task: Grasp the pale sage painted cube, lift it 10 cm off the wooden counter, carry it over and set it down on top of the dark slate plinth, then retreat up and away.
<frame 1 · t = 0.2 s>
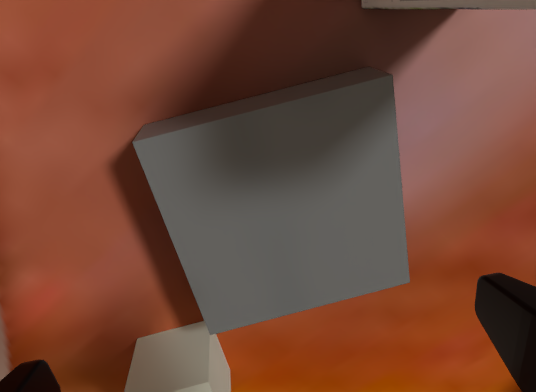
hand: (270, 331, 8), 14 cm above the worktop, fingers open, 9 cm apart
plinth: (280, 197, 23), on the worktop
cube: (185, 353, 27), on the worktop
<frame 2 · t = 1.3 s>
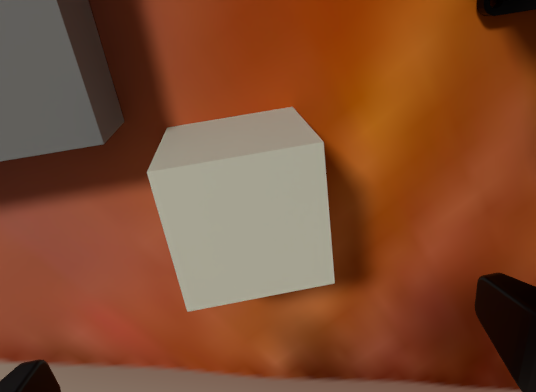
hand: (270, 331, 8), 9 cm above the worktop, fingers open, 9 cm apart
cube: (240, 174, 16), on the worktop
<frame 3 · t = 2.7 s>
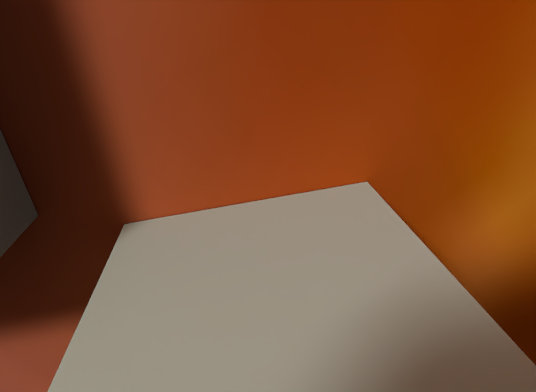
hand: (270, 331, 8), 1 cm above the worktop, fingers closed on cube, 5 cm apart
cube: (264, 298, 9), on the worktop, touching gripper
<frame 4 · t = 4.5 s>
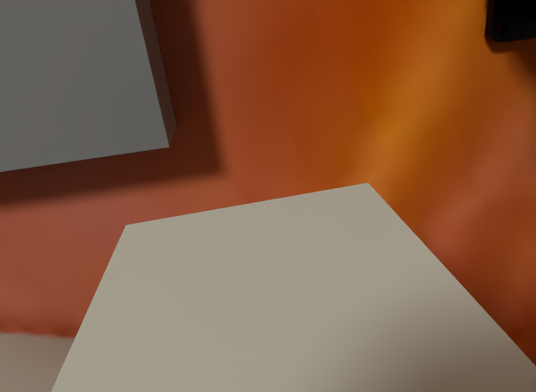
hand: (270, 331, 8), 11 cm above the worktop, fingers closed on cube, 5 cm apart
cube: (265, 299, 9), point 10 cm above the worktop, touching gripper
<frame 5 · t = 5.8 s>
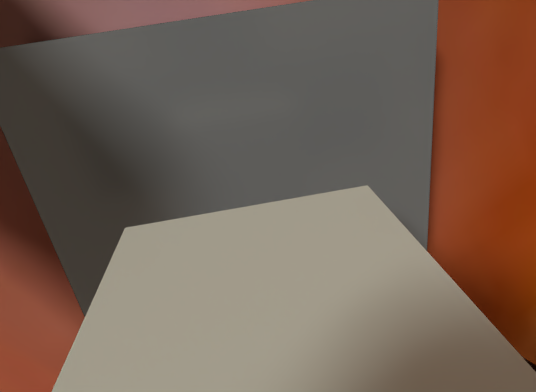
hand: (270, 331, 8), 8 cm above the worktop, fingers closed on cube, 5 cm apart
plinth: (242, 185, 15), on the worktop
cube: (265, 301, 9), point 7 cm above the worktop, touching gripper
when the fingers open (5 cm above the worktop, at t = 6.7 s): cube stays where it is, resting on plinth.
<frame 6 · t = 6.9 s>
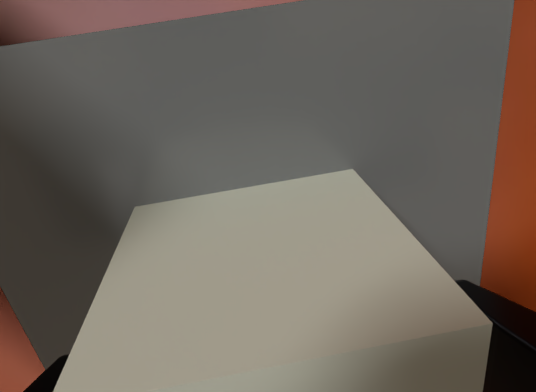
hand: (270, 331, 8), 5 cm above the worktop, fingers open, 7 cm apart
plinth: (250, 218, 13), on the worktop
cube: (261, 276, 10), point 3 cm above the worktop, touching plinth
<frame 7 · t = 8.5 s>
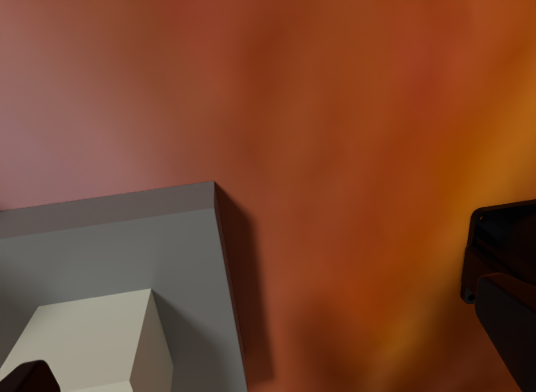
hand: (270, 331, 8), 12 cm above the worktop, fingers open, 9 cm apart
plinth: (122, 296, 21), on the worktop
cube: (110, 338, 19), point 3 cm above the worktop, touching plinth
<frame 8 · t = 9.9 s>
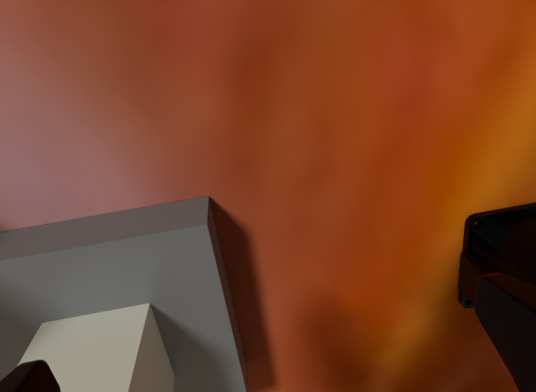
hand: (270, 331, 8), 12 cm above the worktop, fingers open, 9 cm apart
plinth: (124, 309, 22), on the worktop
cube: (112, 351, 19), point 3 cm above the worktop, touching plinth
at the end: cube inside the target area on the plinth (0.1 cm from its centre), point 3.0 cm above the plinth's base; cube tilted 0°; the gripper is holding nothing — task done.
